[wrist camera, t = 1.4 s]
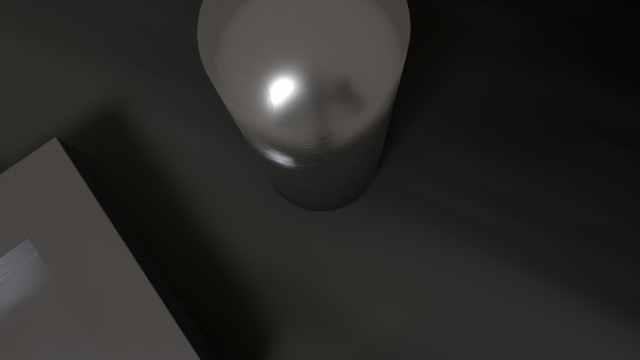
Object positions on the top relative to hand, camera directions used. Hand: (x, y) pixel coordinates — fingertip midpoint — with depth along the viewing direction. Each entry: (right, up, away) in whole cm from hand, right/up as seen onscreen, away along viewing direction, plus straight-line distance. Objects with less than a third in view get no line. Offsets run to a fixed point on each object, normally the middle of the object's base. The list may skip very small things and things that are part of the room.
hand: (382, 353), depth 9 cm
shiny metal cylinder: (-1, +4, +14) cm, 15 cm away
